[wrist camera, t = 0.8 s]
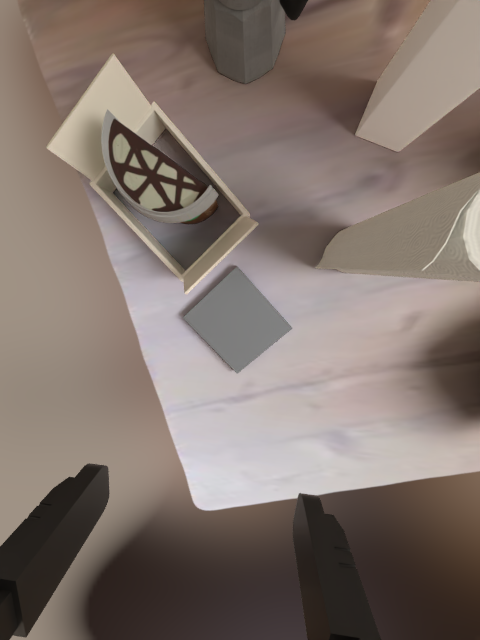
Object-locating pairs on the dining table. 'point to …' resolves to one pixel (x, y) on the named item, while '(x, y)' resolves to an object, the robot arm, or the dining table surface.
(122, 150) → the food container
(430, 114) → the milk
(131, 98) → the carton
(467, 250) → the paper towel roll
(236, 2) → the coffeepot
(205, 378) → the dining table surface
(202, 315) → the trivet
